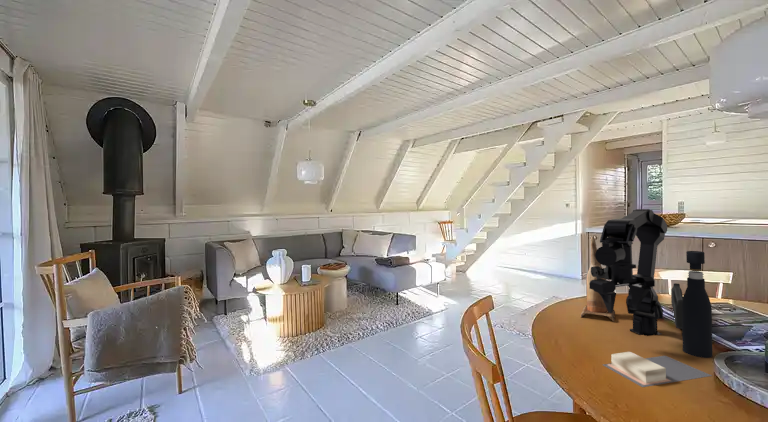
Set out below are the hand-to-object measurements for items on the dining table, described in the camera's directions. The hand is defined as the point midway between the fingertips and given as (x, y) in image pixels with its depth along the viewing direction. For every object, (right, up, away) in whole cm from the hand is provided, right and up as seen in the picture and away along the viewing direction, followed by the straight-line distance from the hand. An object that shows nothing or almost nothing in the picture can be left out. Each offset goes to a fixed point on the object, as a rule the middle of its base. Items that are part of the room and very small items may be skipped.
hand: (622, 310), depth 106 cm
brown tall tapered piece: (+10, -11, +29) cm, 32 cm away
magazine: (+36, -10, +22) cm, 43 cm away
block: (-8, -11, -16) cm, 21 cm away
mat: (-2, -12, -15) cm, 20 cm away
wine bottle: (+17, -11, -7) cm, 21 cm away
